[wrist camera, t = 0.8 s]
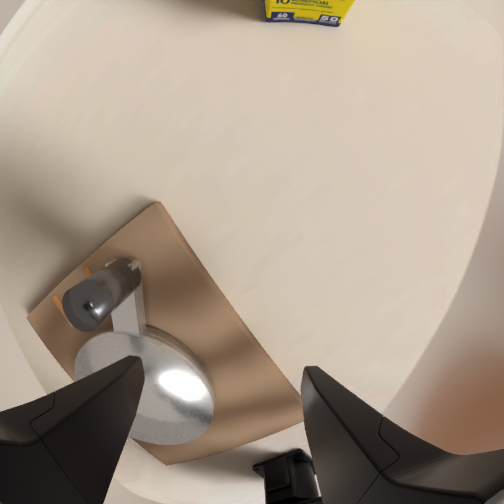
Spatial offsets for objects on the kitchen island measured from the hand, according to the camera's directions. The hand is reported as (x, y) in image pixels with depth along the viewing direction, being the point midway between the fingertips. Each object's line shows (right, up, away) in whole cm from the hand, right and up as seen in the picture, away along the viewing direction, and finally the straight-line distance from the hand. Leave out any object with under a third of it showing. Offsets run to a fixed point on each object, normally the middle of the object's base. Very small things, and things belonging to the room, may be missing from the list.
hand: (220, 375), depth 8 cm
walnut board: (-7, -6, +14) cm, 17 cm away
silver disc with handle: (-8, -5, +11) cm, 15 cm away
